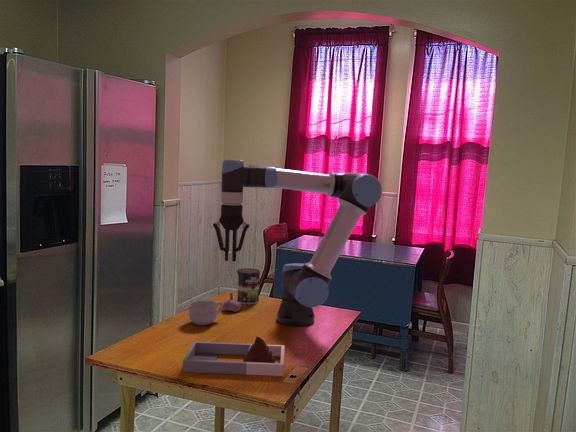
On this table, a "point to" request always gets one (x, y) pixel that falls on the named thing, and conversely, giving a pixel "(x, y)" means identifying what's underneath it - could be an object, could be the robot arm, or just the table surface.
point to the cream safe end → (268, 364)
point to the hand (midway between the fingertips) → (230, 270)
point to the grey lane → (214, 358)
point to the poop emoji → (259, 352)
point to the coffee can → (248, 286)
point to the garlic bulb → (231, 304)
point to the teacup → (204, 311)
